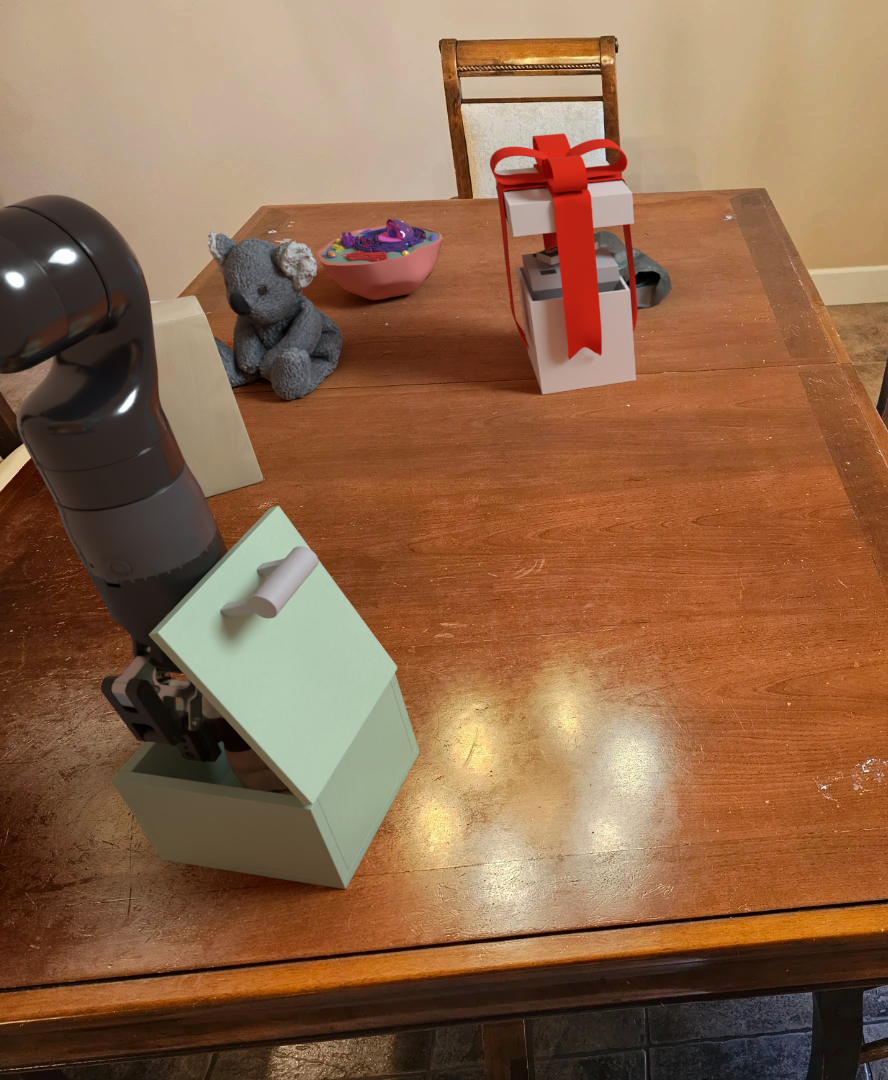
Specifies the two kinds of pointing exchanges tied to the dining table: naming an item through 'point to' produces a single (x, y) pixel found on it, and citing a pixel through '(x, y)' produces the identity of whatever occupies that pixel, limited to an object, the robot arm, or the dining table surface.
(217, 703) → the lid
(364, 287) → the cell model
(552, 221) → the white gift box
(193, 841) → the compartment
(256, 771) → the grandmother figurine
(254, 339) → the koala plush
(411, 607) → the dining table surface
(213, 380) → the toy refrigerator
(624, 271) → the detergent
